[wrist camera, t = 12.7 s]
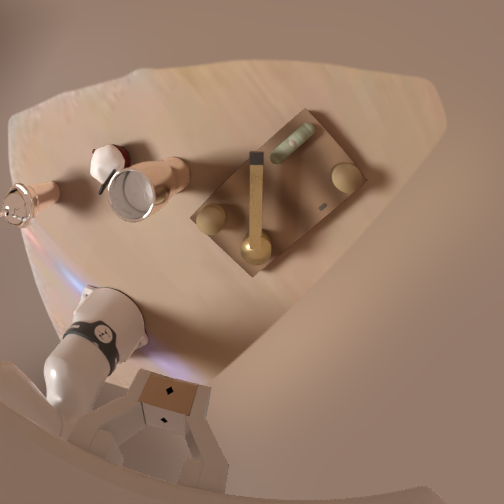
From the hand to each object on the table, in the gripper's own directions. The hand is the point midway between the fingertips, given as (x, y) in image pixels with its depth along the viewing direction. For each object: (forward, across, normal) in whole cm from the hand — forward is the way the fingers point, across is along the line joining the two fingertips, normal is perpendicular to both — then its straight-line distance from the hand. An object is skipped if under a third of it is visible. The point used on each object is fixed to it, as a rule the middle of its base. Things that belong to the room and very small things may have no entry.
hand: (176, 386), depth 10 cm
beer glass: (+37, +13, -1) cm, 40 cm away
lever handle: (+34, -1, +1) cm, 34 cm away
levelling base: (+37, -4, -1) cm, 37 cm away
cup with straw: (+37, +41, +6) cm, 56 cm away
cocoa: (+37, +23, -2) cm, 44 cm away
